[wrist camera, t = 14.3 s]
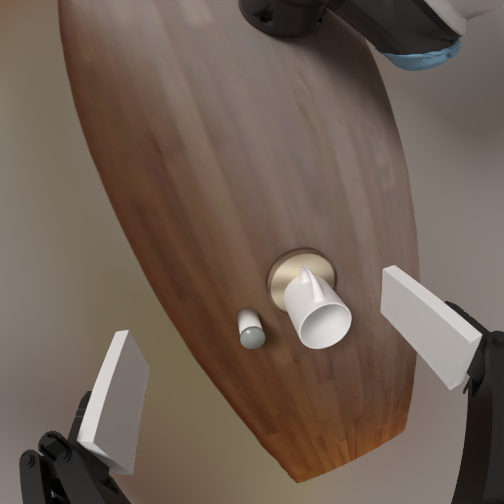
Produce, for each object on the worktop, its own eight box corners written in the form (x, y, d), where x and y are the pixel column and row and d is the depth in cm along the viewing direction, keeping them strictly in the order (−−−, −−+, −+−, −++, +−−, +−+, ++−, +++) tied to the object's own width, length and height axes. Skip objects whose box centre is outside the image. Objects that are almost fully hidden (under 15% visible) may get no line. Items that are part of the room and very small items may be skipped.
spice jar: (234, 310, 50) (238, 333, 44) (256, 305, 50) (262, 327, 44) (239, 327, 52) (243, 351, 45) (260, 322, 52) (267, 345, 46)
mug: (321, 248, 46) (349, 275, 36) (328, 305, 51) (352, 338, 41) (273, 262, 46) (290, 293, 36) (286, 318, 50) (302, 355, 40)
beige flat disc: (260, 257, 47) (262, 261, 45) (330, 240, 48) (334, 244, 46) (271, 317, 52) (274, 323, 50) (334, 300, 53) (337, 305, 51)
